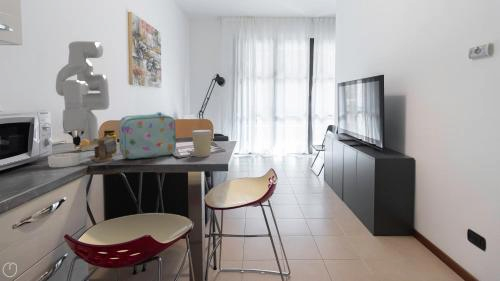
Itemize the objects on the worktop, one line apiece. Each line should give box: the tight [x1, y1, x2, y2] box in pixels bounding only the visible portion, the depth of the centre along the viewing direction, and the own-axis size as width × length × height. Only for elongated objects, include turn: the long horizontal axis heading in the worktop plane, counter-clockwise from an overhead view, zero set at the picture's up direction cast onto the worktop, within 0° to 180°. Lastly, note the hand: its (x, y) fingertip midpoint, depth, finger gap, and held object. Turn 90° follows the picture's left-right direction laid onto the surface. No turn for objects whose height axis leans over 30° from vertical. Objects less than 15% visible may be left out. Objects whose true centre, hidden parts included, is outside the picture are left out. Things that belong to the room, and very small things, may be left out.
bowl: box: [47, 152, 82, 169], centre depth 159 cm, size 12×12×4 cm
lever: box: [71, 135, 116, 152], centre depth 171 cm, size 17×15×7 cm
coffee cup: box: [191, 129, 212, 158], centre depth 174 cm, size 9×9×12 cm
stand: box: [90, 138, 115, 163], centre depth 169 cm, size 11×8×10 cm
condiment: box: [103, 129, 121, 155], centre depth 189 cm, size 7×8×12 cm
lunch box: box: [118, 111, 177, 160], centre depth 174 cm, size 27×10×21 cm, turn 126°
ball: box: [80, 139, 89, 147], centre depth 164 cm, size 4×4×4 cm
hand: (77, 145), depth 172 cm, fingers closed
